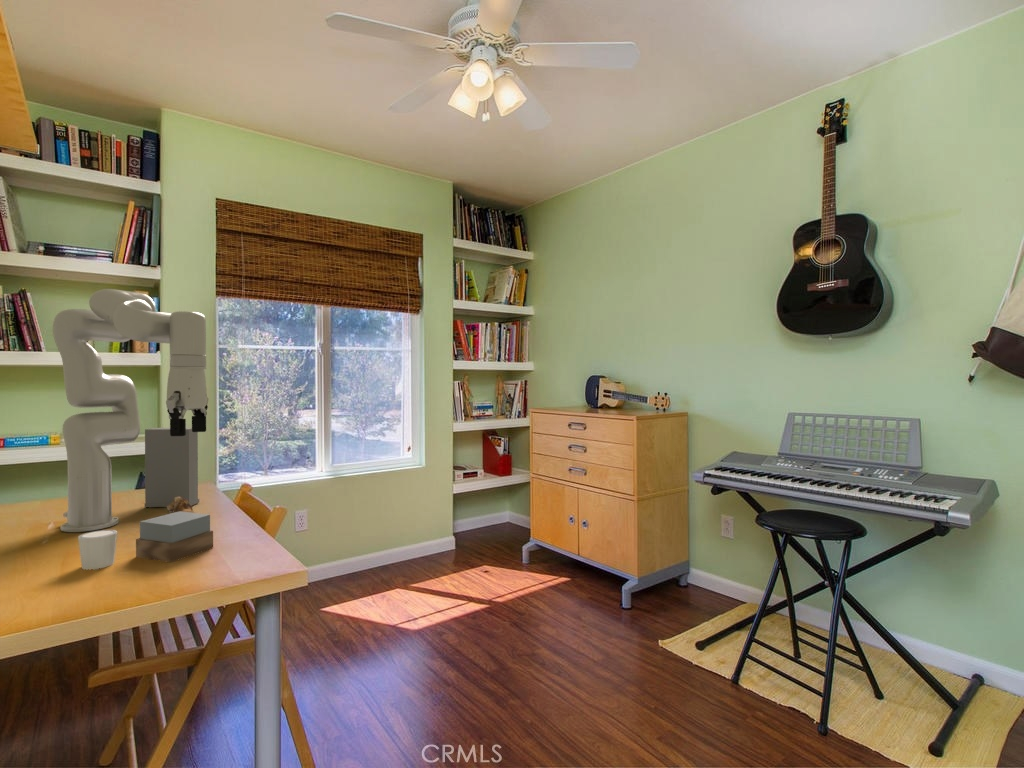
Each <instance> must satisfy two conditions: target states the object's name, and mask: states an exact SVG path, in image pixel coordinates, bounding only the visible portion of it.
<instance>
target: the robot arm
mask: <svg viewBox="0 0 1024 768" xmlns="http://www.w3.org/2000/svg"><path fill="white" fill-rule="evenodd" d="M88 304H89V307H90V308H89V309H82V308H70V309H69V308H68V309H64V310H61V311H59V312H58V313H57V314H56V315H55V317H54V320H53V323H52V336H53V340H54V343H55V345H56V348H57V350H58V353H59V355H60V356H61V357H60V358H61V361H62V368H63V369H62V371H63V380H64V381H63V382H64V389H65V395H66V396H65V397H66V399H67V402H68V404H69V405H70V406H72V407H74V408H78V409H91V408H92V409H93V408H95V409H97V408H98V409H99V408H111V409H112V411H94V412H82V413H81V412H80V413H77V414H73V415H71V416H69V417H68V418H67V419H65V420H64V421H63V425H62V428H61V430H62V436H63V437H62V438H63V440H64V444H65V449H66V458H67V463H66V464H67V510H66V512H64V513H63V515H62V516H63V518H67V520H66V522H65V523H63V524H61V525H60V531H61V532H64V533H82V532H93V531H99V530H104V529H106V528H110V527H111V528H112V527H113V526H116V525H118V524H119V523H120V522H119V520H120V519H119V517H117V516H113V501H112V500H113V498H112V497H113V496H112V495H113V490H112V489H113V488H112V486H113V485H112V484H113V483H112V482H113V481H112V480H113V479H112V478H113V474H112V461H111V458H110V456H109V454H107V452H105V450H104V449H103V448H102V447H104V446H105V447H106V446H111V445H112V446H113V445H122V444H123V445H124V444H128V443H129V444H130V443H132V442H134V441H135V440H137V439H138V437H139V435H140V431H141V428H140V427H141V422H140V414H139V413H140V412H139V405H138V395H137V388H136V385H135V384H134V381H132V379H131V378H130V377H128V376H127V375H125V374H118V373H117V374H116V373H112V374H111V373H109V374H108V373H107V374H106V373H105V372H104V370H103V361H102V358H101V355H100V354H99V352H98V351H97V350H96V349H95V348H94V347H93V346H92V345H91V344H90V343H88V341H90V342H91V341H93V342H108V343H109V342H110V343H125V342H129V341H130V340H132V341H135V342H139V343H140V342H141V343H155V344H169V372H168V376H167V386H166V400H165V404H166V409H167V411H166V412H167V413H168V419H169V428H170V435H171V436H185V435H186V428H187V423H186V422H187V419H186V418H185V415H186V413H187V411H191V412H192V414H193V415H191V428H192V432H198V433H205V432H207V416H208V411H207V410H208V408H209V407H208V404H209V398H208V395H207V381H206V379H207V378H206V373H205V372H206V371H205V370H207V320H206V316H205V315H204V314H203V313H200V312H196V311H185V310H184V311H180V310H179V311H174V312H171V313H170V312H161V311H156V310H157V309H156V304H155V301H153V299H152V297H150V296H149V295H148V294H146V293H142V292H136V291H130V290H122V289H121V290H120V289H114V288H113V289H112V288H104V289H102V288H101V289H100V290H97V291H95V292H94V293H92V294H91V295H90V297H89V300H88Z"/></svg>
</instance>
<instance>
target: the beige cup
mask: <svg viewBox="0 0 1024 768" xmlns="http://www.w3.org/2000/svg"><path fill="white" fill-rule="evenodd" d="M77 537H78V538H77V539H78V548H79V555H80V556H79V557H80V562H81V569H82V570H85V569H86V570H85V571H87V570H88V569H89V570H88V571H91V569H93V570H100V569H103V568H107V567H110V566H112V565H114V564H115V558H116V557H115V556H116V551H117V550H116V549H117V538H118V531H117V530H116V529H98V530H92V531H88V532H86V533H82V534H79V535H78V536H77ZM99 568H100V569H99Z"/></svg>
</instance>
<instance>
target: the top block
mask: <svg viewBox="0 0 1024 768" xmlns="http://www.w3.org/2000/svg"><path fill="white" fill-rule="evenodd" d="M210 530H211V514H209V513H208V514H207V513H198V512H194V513H191V512H182V511H179V512H175V513H174V512H170V513H167V514H164V515H160V516H157V517H152V518H148V519H145V520H141V521H139V538H140V539H145V540H152V541H159V542H166V543H174V542H177V541H180V540H184V539H187V538H190V537H193V536H196V535H199V534H202V533H206V532H209V531H210Z"/></svg>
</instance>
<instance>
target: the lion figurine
mask: <svg viewBox="0 0 1024 768" xmlns="http://www.w3.org/2000/svg"><path fill="white" fill-rule="evenodd" d="M192 506H193V505H192ZM192 506H191V505H190V504H189V502H188V501H187V500H186V499H185V498H182V497H176V498H174V501H173V502H172V503H171V504H170V505H168V506H167V507H166V508H167V510H168V512H169V513H175V512H179V511H182V512H191V513H195V512H194V511H193V507H192Z"/></svg>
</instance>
